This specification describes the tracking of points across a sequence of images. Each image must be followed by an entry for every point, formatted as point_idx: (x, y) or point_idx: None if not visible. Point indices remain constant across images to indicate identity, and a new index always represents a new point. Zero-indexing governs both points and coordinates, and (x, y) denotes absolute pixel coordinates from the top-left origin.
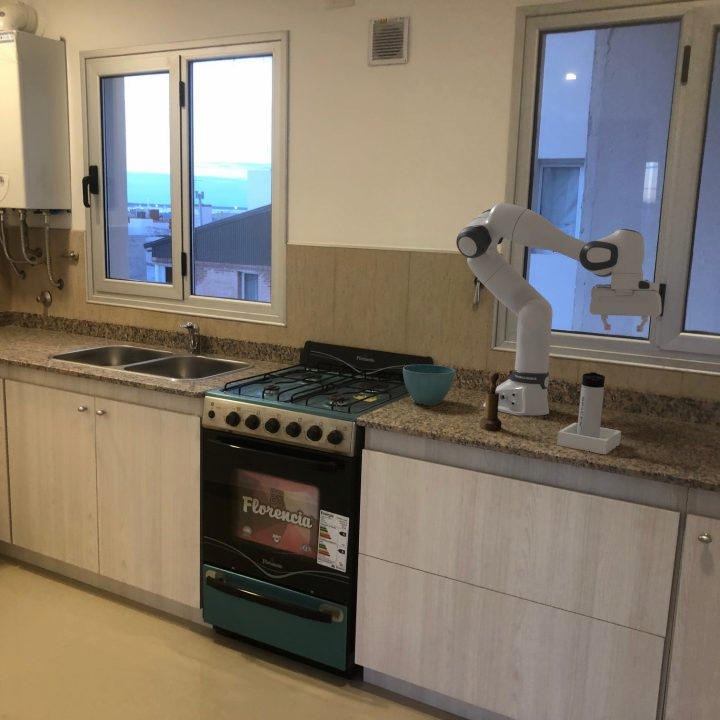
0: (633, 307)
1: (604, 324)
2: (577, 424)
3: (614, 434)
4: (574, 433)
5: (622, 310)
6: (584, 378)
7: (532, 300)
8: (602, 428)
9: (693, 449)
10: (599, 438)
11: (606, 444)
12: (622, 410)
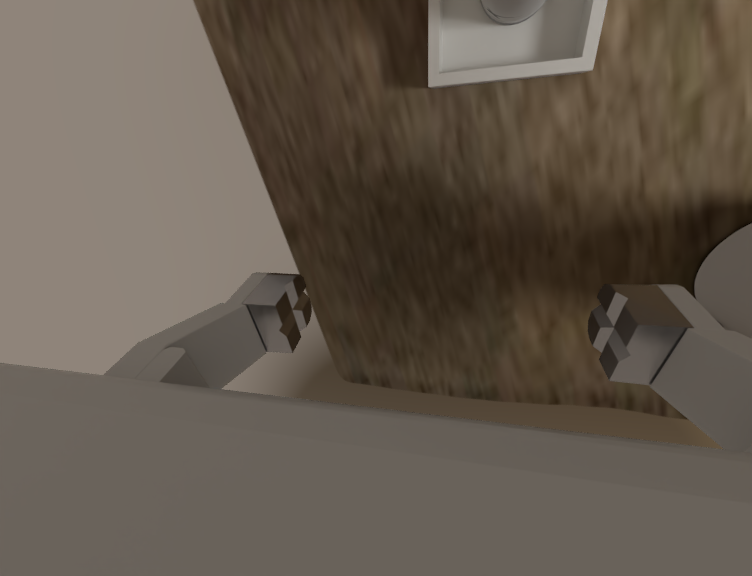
0: (116, 566)
1: (722, 328)
2: (578, 58)
3: (432, 14)
4: (577, 43)
5: (430, 514)
6: None
7: None
8: (485, 68)
9: (298, 185)
10: (489, 61)
11: None
12: (502, 399)
